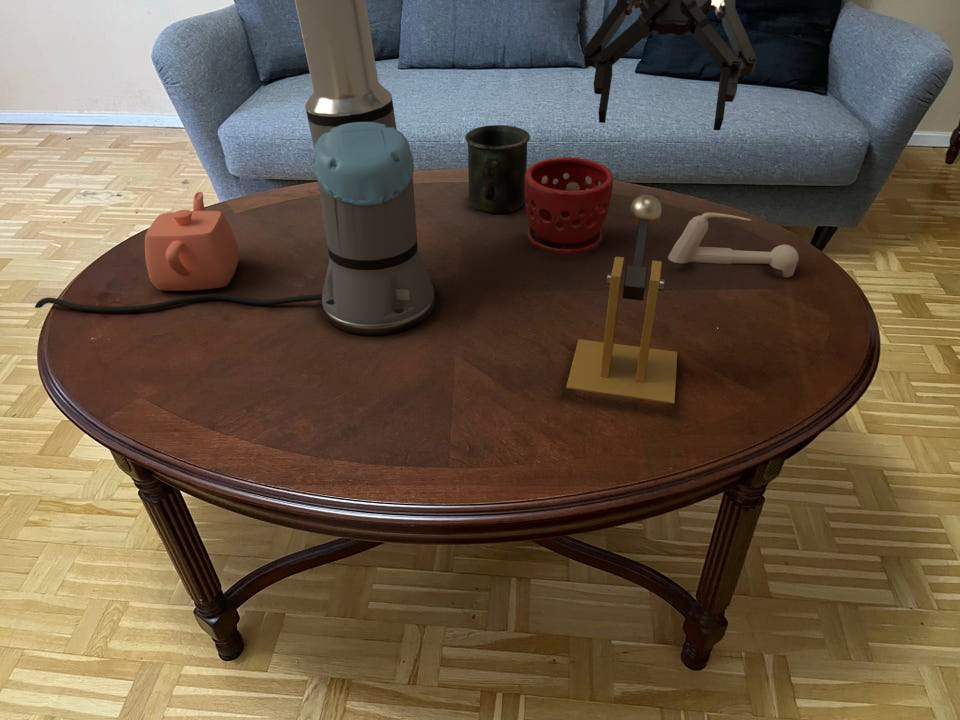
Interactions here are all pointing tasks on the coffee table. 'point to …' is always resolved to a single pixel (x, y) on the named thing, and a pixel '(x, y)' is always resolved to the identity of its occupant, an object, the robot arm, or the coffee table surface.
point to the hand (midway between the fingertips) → (659, 121)
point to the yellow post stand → (626, 353)
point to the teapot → (191, 249)
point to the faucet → (728, 249)
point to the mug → (497, 167)
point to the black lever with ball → (640, 244)
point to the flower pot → (567, 204)
